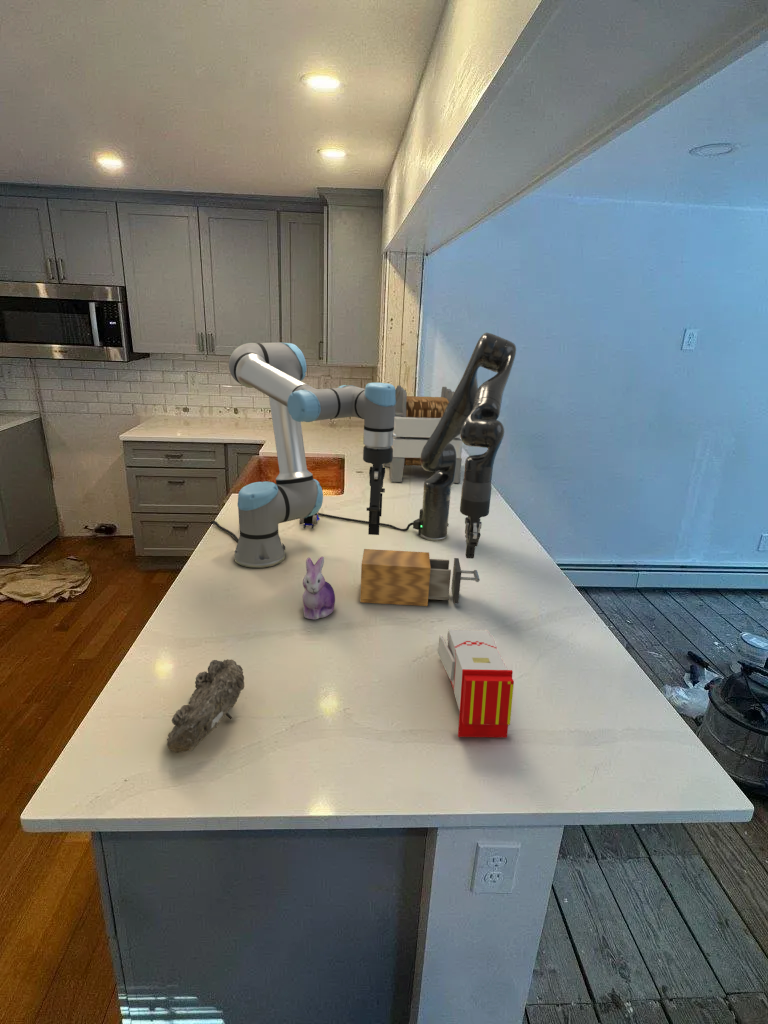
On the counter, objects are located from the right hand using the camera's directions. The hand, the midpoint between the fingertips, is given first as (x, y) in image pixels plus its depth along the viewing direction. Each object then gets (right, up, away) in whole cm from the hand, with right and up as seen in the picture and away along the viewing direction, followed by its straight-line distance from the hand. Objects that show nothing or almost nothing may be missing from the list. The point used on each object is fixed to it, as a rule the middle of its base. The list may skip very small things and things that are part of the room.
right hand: (469, 557), depth 152 cm
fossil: (-56, -27, -44) cm, 76 cm away
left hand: (-25, +9, -2) cm, 27 cm away
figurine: (-40, -14, -5) cm, 43 cm away
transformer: (-6, +31, +123) cm, 127 cm away
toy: (-5, -26, -34) cm, 42 cm away
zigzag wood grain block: (-20, -11, +5) cm, 23 cm away
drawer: (-9, -11, +4) cm, 14 cm away
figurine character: (-50, +8, +53) cm, 73 cm away
